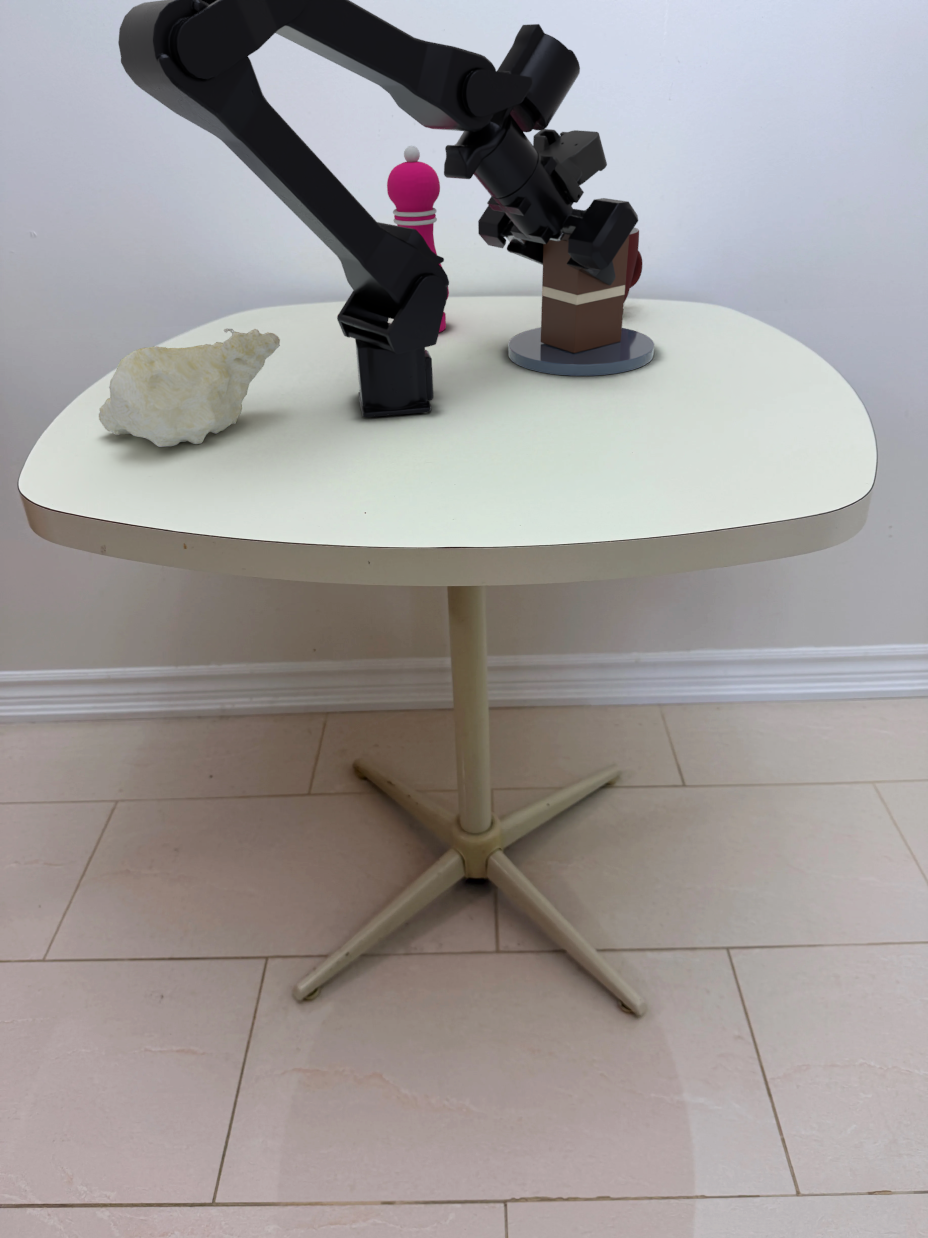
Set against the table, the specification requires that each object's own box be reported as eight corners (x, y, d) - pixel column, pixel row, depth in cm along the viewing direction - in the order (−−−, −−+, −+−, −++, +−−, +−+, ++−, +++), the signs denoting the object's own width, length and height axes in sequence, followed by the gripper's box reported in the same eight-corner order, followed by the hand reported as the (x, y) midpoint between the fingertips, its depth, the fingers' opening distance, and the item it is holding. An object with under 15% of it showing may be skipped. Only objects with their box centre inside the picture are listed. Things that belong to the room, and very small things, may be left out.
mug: (606, 300, 120) (610, 219, 114) (657, 310, 115) (664, 225, 110) (555, 316, 113) (558, 231, 108) (607, 327, 109) (612, 238, 103)
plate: (526, 381, 92) (526, 369, 92) (495, 339, 106) (495, 329, 105) (675, 369, 94) (676, 357, 94) (626, 329, 108) (627, 319, 107)
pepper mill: (461, 325, 111) (456, 143, 100) (428, 339, 106) (419, 149, 95) (413, 318, 115) (403, 141, 104) (379, 332, 109) (365, 147, 99)
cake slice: (574, 353, 96) (580, 232, 89) (540, 342, 99) (543, 225, 93) (621, 341, 99) (630, 224, 93) (586, 331, 103) (593, 217, 96)
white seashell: (93, 489, 77) (196, 388, 69) (54, 415, 77) (152, 307, 70) (218, 477, 90) (316, 391, 83) (184, 414, 91) (279, 323, 83)
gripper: (631, 102, 78) (702, 223, 90) (499, 97, 91) (575, 203, 102) (560, 211, 79) (640, 317, 90) (438, 191, 92) (521, 286, 103)
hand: (593, 276), depth 96 cm, fingers closed on cake slice, 5 cm apart
